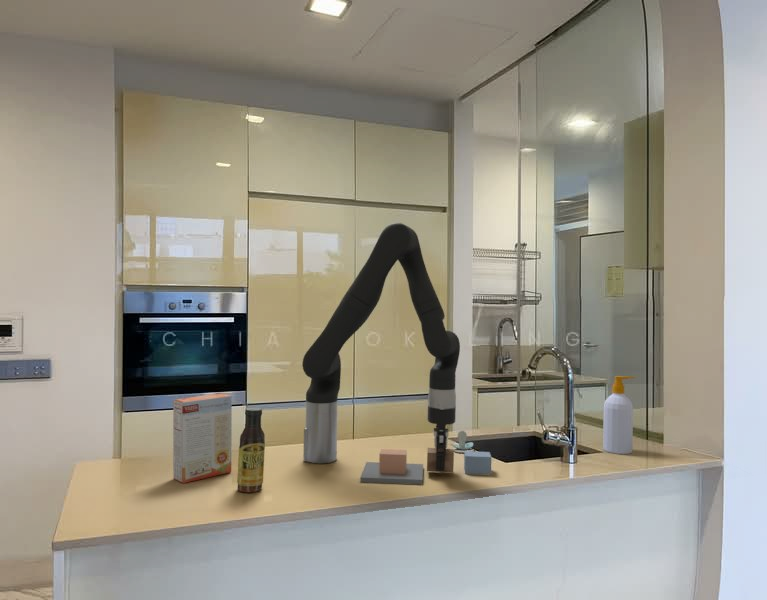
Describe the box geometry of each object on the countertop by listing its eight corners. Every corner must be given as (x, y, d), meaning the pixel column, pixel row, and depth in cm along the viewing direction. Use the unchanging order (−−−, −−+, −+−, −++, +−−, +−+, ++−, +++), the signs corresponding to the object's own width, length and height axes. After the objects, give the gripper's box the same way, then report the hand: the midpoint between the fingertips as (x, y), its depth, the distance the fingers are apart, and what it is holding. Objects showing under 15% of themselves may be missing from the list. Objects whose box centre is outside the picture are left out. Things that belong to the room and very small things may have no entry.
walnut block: (426, 471, 150) (427, 452, 150) (427, 465, 155) (427, 447, 155) (453, 472, 150) (453, 453, 150) (452, 467, 155) (453, 448, 155)
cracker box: (221, 468, 156) (222, 392, 156) (232, 473, 151) (233, 395, 152) (171, 478, 146) (172, 398, 146) (181, 484, 142) (183, 401, 142)
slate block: (465, 474, 153) (465, 456, 153) (464, 468, 158) (464, 451, 158) (491, 475, 153) (491, 457, 153) (489, 469, 158) (489, 452, 158)
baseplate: (360, 482, 145) (360, 458, 145) (366, 466, 159) (366, 444, 159) (422, 484, 144) (422, 460, 144) (423, 468, 158) (423, 446, 158)
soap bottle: (639, 454, 175) (640, 378, 175) (609, 454, 175) (610, 377, 175) (627, 447, 184) (628, 374, 184) (599, 447, 184) (600, 374, 184)
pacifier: (477, 453, 175) (470, 448, 181) (478, 433, 175) (470, 428, 181) (455, 455, 173) (448, 449, 179) (455, 434, 173) (449, 429, 179)
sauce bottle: (240, 495, 134) (241, 412, 134) (234, 487, 140) (235, 407, 140) (267, 491, 137) (268, 410, 137) (260, 484, 143) (261, 405, 143)
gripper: (428, 399, 160) (426, 459, 160) (427, 409, 146) (425, 475, 146) (454, 400, 159) (453, 460, 159) (456, 410, 145) (455, 476, 145)
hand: (440, 467), depth 152 cm, fingers closed on walnut block, 5 cm apart
